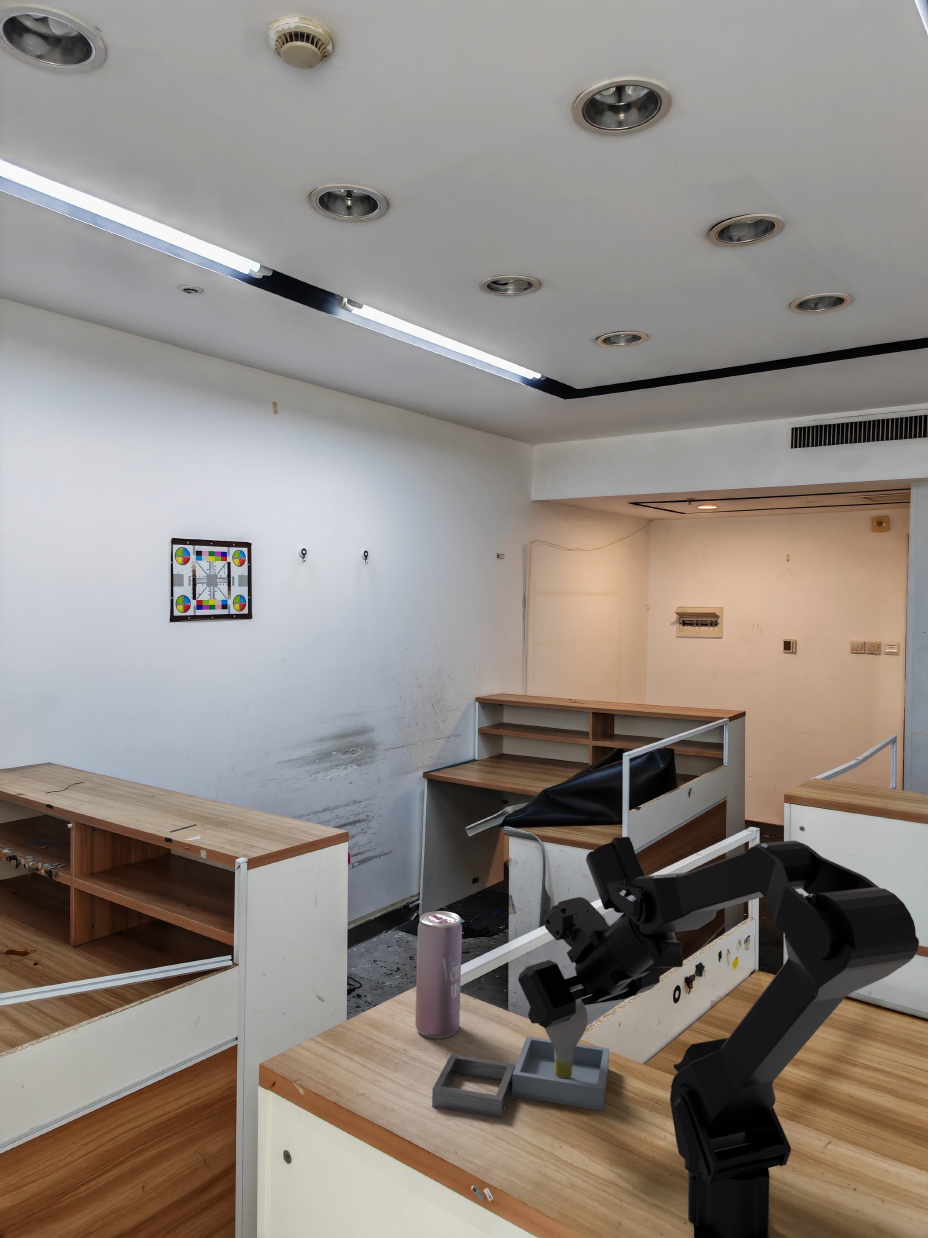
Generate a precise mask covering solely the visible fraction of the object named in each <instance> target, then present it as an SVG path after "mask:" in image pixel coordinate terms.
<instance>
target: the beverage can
mask: <svg viewBox="0 0 928 1238" xmlns="http://www.w3.org/2000/svg"><path fill="white" fill-rule="evenodd" d="M461 920H462V919H461V916H460V915H458V914H456V913H453V912H450V911H443V910H437V911H436V910H435V911H429V912H424V913H423V914H421V915H420V917H419V923H418V926H417V949H416V952H417V953H416V956H417V957H416V988H415V989H416V990H415V992H416V993H415V1023H414V1024H415V1027H416V1030H417V1031H418V1033H419V1034H420V1035H421V1036H423V1037H425V1038H429V1039H435V1040H438V1039H439V1040H441V1039H446V1038H449V1037H452V1036H453V1035H455V1034H456V1032H457V1031H458V1029H459V1027H460V1021H461V1020H460V1014H461V1013H460V1012H461V982H462V981H461V979H462V978H461V977H462V976H461V975H462V973H461V972H462V938H463V937H462V936H463V926H462V923H461Z"/></svg>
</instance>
